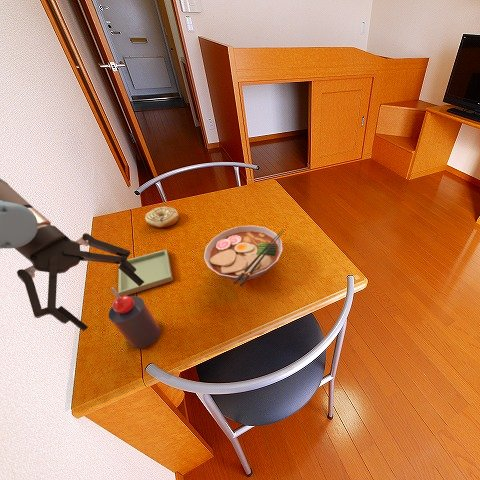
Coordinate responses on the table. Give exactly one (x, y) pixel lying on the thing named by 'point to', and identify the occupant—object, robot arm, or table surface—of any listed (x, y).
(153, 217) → the decorated donut
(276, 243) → the ramen bowl
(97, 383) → the table surface
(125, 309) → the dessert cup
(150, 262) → the serving tray
